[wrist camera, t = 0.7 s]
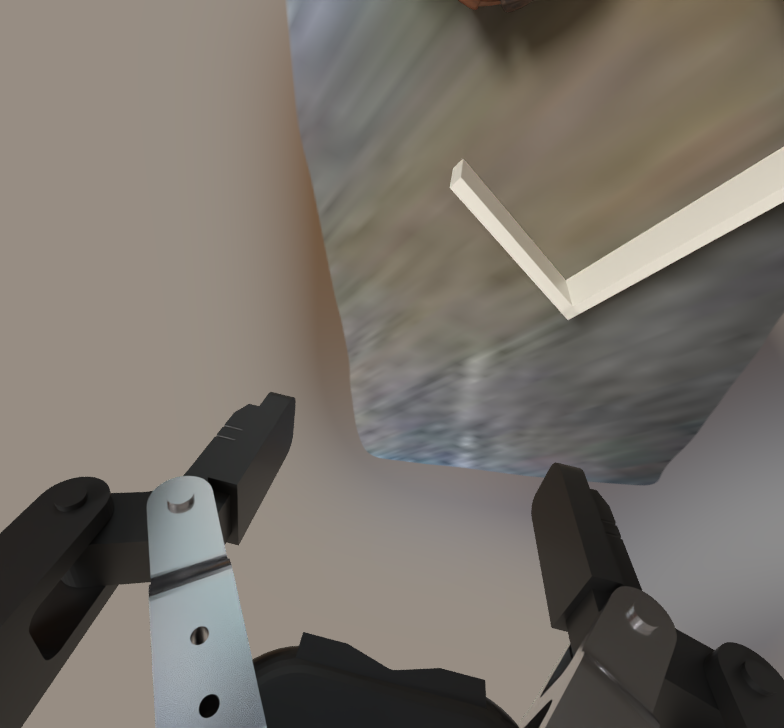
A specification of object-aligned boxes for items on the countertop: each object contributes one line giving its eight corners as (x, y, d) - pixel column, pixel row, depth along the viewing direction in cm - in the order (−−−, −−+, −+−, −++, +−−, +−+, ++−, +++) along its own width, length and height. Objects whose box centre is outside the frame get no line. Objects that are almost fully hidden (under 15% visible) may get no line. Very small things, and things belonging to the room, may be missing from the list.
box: (453, 168, 31) (449, 187, 28) (771, -137, 19) (820, -157, 17) (561, 293, 37) (568, 320, 34) (857, 117, 25) (904, 135, 22)
